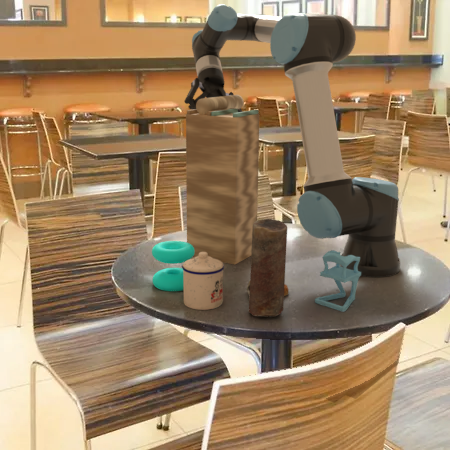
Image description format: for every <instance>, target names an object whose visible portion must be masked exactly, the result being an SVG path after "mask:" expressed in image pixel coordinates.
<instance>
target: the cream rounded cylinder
mask: <svg viewBox="0 0 450 450" xmlns="http://www.w3.org/2000/svg"><path fill="white" fill-rule="evenodd" d="M243 106H244V98H243V96H241V95H240V94H234V95H229V96H220V97H212V98H206V97H205V98H203V99H199V100H198V101H197V103H196V109H197V111H198V112H199V113H200V114H207V112H208V111H215V110H222V109H229V108H234V109H235V108H236V109H240V108H241V109H242V108H243Z"/></svg>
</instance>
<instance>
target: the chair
mask: <svg viewBox="0 0 450 450" xmlns="http://www.w3.org/2000/svg"><path fill="white" fill-rule="evenodd" d="M322 261H323V265H324V269H323V270H322V271H320V272H319V273H320V274H319V276H320V277H324V278H329V279H332V280H334V282H335V284H336V286H337V288H338V290H339V292H337V293H332V294H329V295H324V296H318V297H316V298H314V303H315V304H317V305H321V306H323V307H327V308H331V309H334V310H335V311H336V310H337V311H340V312H341V313H342V312H346V311H347V310H348V309H349V307H350V306H351V304H352V303H353V302H354V301H355V300H356V291H357V287H358V283H359V279H360V277H362V276H361V272H359V271H358V264H359V261H360V257H356V256H353V255H348V256H342V253H341V252H340V251H336V250H332V249H331V250H328V251H326V252H325V253H324V255H322ZM353 261H356V263H355V265H354V270H350V269H347V268H346V267H347V266H348V265H349V264H350V263H351V262H353ZM328 262H330V263H335V265H334V266H332V267H330V268H329V264H328ZM340 265H342V266H343V267H341V266H340ZM348 282H351V287H350V293H349V296H348V298H347V299H346V301H345V303H344V304H343V305H339V304H336V303H333V302H330V301H332V300H337V299H341V298H345V297H346V296H347V294H346V292H347V291H346V290H345V288H344V287H343V284H342V283H344V284H345V283H346V284H347V283H348Z"/></svg>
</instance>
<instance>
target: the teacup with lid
mask: <svg viewBox="0 0 450 450" xmlns="http://www.w3.org/2000/svg"><path fill="white" fill-rule="evenodd" d="M181 268H183V280H184V290H183V304H184V305H185V306H186V307H188V309H193V310H196V311H197V310H199V311H201V310H203V311H207V310H213V309H216V308H219V307H220V306H221V305H222V304H223V301H224V300H223V299H224V293H223V292H224V291H223V290H224V269H225V265H224V262H221V261H220V260H217V259H214V258H212V257H210V256H208V253H207V252H200V253H199V256H197V257H192V258H191V259H189V260H187V261H185V262H183V263H182V266H181Z"/></svg>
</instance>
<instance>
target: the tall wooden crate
mask: <svg viewBox="0 0 450 450" xmlns="http://www.w3.org/2000/svg"><path fill="white" fill-rule="evenodd" d="M185 139H186V140H185V155H186V156H185V157H186V159H185V162H186V163H185V165H186V167H185V172H186V173H185V174H186V178H185V179H186V180H185V181H186V182H185V183H186V184H185V185H186V242H187V243H189V244H191V245H192V246H193V247H194V250H195V253H194V257H193V258H195V257H197V256H199V253H200V252H207V253H208V256H210V257H212V258H214V259H217V260H220V261H221V262H222V263H223V264H229V265H237V264H239V263H241V262H242V261H244V260H246V259H248V258H249V257H250V258H251V250H252V230H253V224H254V222H255V221H258V205H259V203H258V196H259V194H258V193H259V157H260V156H259V153H260V147H259V146H260V113H259V109H253V110H246V111H243V112H238V109H236V108H235V109H234V108H229V109H222V110H215V111H208V112H207V114H200V113H199V112H198V111H197V109H193V110H192V109H187V110H186V114H185Z"/></svg>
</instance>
